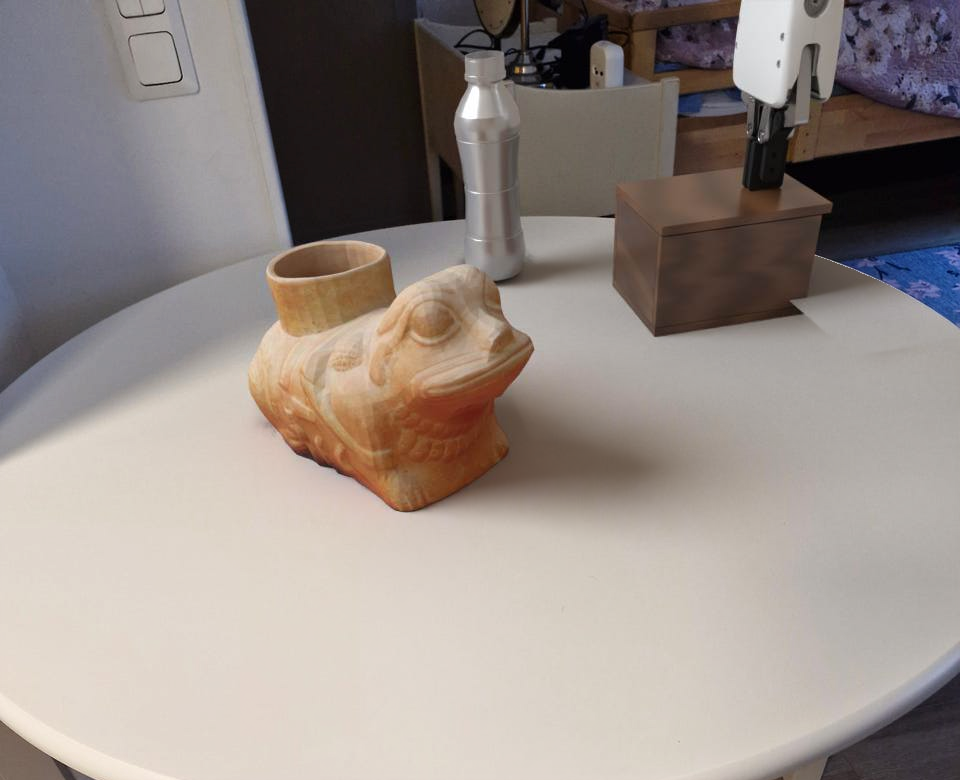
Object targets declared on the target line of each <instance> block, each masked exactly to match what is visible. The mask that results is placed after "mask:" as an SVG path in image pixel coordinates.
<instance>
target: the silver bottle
mask: <svg viewBox="0 0 960 780" xmlns="http://www.w3.org/2000/svg"><path fill="white" fill-rule="evenodd" d="M505 68H506V63H505V53H504V52H503V51H500V50H480V51H479V50H478V51H474V52H470V53H467V54H465V55H464V71H465V72H464V81H466V82H467V88H466V90H465V92H464V94H463V96H462V97H461V99H460V101H459V104H458V106H457V108H456V111H455V114H454V121H453V128H454V134H455V136H456V137H455V139H456V140H455V141H456V144H457V149H458V153H459V158H460V159H459V160H460V163H461V172H462V179H463V180H462V181H463V184H464V189H463V190H464V195H465V232H464V238H463V253H462V254H463V259H464V263H465V264H467V265H472V266H474V267H476V268H477V269H479V270H481V271H483V272H485V273H486V274H487V275H488V276H489V277H490V278H491V279H492V280H493V281H494V282H495V281H502V280H507V279H511V278H513V277H515V276H516V275H518V274H519V273H520V272H521V270H522V268H523V267H524V265H525V261H526V260H525V259H526V252H527V247H526V240H525V233H524V230H523V227H522V221H521V212H520V211H521V210H520V203H519V201H520V200H519V193H518V191H519V189H518V184H519V183H518V178H519V177H518V175H519V151H520V140H521V128H522V117H521V112H520V109H519V107H518V104H517V102H516V101H515V99H514V97H513V95H512V94H511V93H510V92H509V89H508V88H507V87H506V85H505V83H504V79H505V78H506V77H507V70H506V69H505Z"/></svg>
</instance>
